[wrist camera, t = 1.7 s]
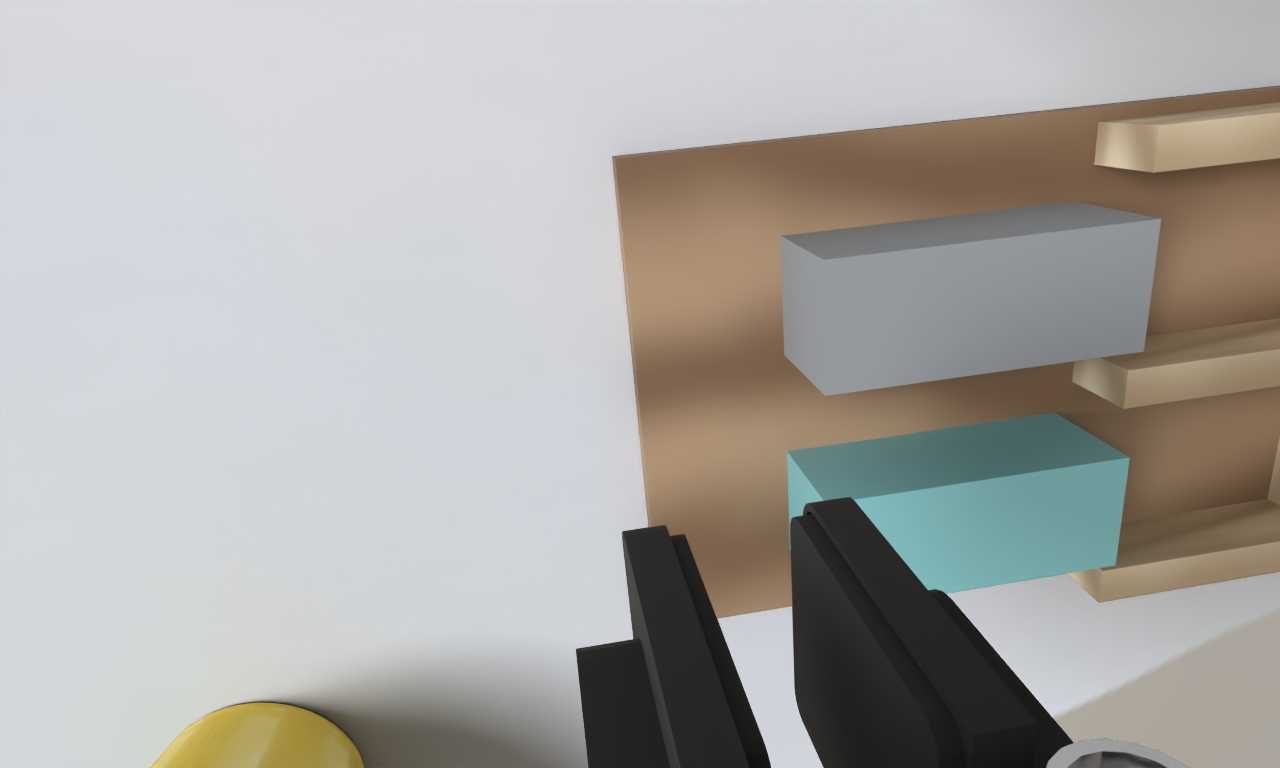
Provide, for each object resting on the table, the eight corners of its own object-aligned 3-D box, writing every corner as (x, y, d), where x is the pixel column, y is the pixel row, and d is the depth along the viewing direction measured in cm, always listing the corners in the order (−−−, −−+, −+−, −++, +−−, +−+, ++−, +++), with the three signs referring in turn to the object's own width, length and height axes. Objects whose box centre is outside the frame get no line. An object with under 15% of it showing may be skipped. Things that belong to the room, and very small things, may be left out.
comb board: (612, 156, 23) (626, 166, 20) (1384, 74, 25) (1501, 72, 22) (657, 613, 28) (673, 675, 25) (1292, 509, 31) (1375, 555, 28)
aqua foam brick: (786, 451, 26) (826, 503, 23) (1054, 412, 27) (1130, 457, 24) (789, 550, 27) (827, 613, 24) (1045, 509, 28) (1115, 565, 25)
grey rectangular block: (780, 236, 23) (823, 260, 20) (1075, 201, 24) (1161, 218, 21) (784, 355, 25) (825, 395, 21) (1064, 317, 26) (1143, 351, 22)
